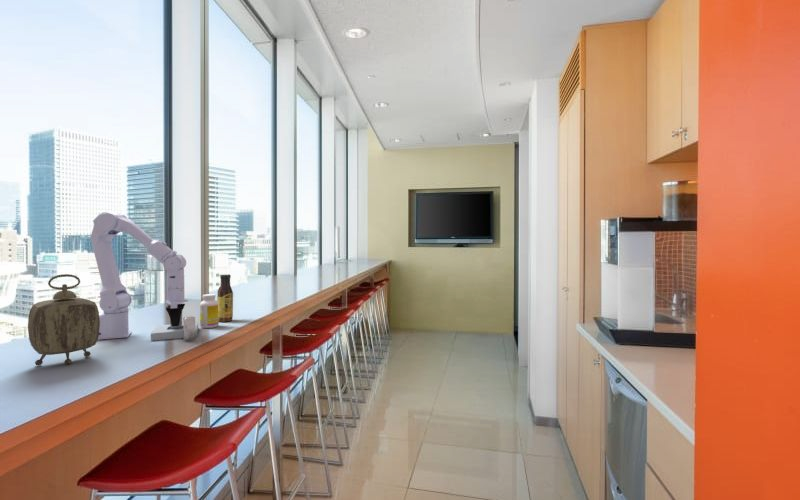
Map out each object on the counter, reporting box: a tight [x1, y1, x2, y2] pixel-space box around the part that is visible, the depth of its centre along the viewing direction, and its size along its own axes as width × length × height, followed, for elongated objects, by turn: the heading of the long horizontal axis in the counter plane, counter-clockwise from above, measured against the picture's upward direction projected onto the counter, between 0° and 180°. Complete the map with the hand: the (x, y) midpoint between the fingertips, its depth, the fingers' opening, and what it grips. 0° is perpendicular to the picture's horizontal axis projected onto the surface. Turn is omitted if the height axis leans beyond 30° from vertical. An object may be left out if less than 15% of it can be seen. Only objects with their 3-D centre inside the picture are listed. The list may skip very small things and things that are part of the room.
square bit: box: [169, 311, 183, 329], centre depth 146 cm, size 4×4×8 cm
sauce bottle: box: [216, 273, 234, 323], centre depth 170 cm, size 6×6×20 cm
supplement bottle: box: [199, 293, 219, 329], centre depth 159 cm, size 7×7×13 cm
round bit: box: [182, 316, 196, 343], centre depth 137 cm, size 4×4×8 cm
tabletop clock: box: [27, 273, 100, 366], centre depth 112 cm, size 14×9×25 cm, turn 141°
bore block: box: [150, 321, 199, 342], centre depth 146 cm, size 14×14×2 cm
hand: (175, 325), depth 146 cm, fingers closed on square bit, 4 cm apart
